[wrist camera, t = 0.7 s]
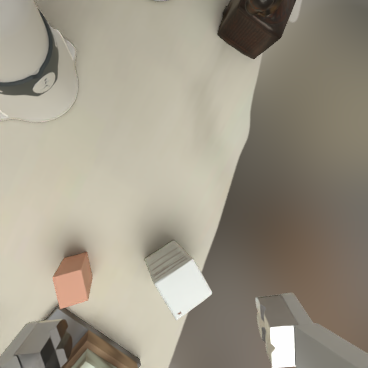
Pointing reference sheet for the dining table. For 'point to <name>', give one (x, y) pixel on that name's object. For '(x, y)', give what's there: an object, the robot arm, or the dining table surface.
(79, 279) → the block
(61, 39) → the robot arm
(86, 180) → the dining table surface
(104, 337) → the build plinth
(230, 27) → the manual coffee grinder
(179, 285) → the supplement box
